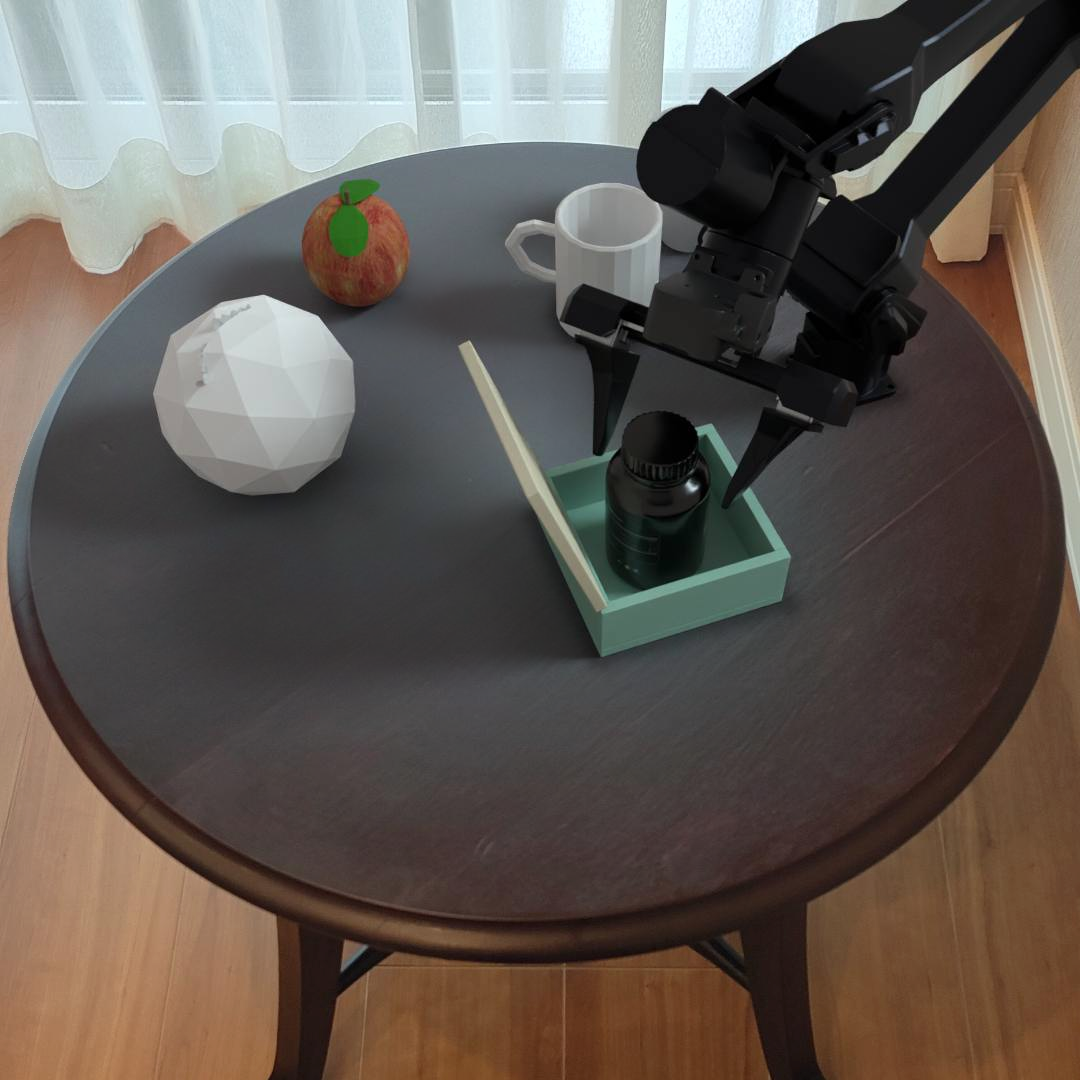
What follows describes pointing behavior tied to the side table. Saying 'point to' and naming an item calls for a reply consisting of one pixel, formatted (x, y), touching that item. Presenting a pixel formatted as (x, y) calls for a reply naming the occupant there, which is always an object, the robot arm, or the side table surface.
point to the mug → (598, 244)
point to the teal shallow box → (708, 596)
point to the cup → (679, 222)
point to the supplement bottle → (657, 501)
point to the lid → (531, 476)
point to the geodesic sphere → (256, 396)
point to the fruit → (356, 246)
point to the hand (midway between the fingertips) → (660, 481)
